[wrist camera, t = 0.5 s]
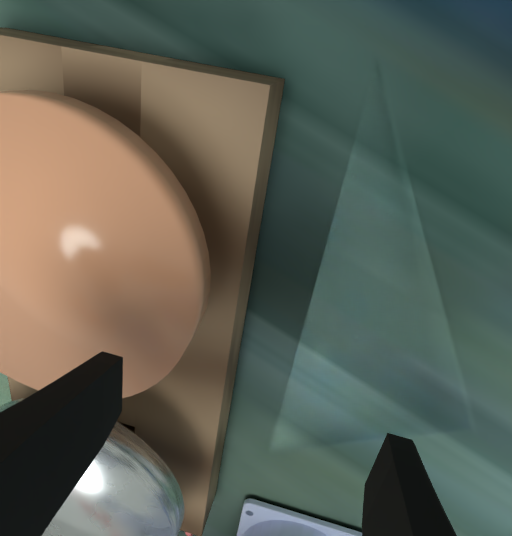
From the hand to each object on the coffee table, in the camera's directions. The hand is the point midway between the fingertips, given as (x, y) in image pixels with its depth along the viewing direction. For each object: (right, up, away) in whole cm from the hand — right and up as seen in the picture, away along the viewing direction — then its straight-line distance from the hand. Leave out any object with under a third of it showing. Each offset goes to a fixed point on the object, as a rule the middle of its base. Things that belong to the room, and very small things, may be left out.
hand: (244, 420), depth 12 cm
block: (-6, +1, +12) cm, 14 cm away
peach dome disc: (-6, +6, +7) cm, 11 cm away
